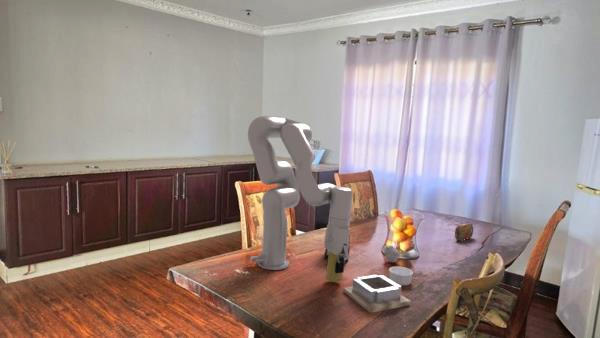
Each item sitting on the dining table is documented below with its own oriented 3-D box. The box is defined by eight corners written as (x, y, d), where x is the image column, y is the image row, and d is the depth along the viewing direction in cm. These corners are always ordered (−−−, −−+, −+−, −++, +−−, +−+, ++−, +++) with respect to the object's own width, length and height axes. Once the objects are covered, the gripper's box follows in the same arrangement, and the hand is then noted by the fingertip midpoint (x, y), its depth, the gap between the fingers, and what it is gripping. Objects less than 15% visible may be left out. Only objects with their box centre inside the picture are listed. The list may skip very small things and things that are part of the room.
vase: (331, 283, 140) (334, 244, 138) (322, 276, 146) (325, 239, 144) (345, 281, 143) (349, 243, 141) (336, 274, 148) (339, 238, 146)
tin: (458, 242, 205) (460, 226, 204) (452, 240, 207) (454, 225, 206) (472, 238, 214) (474, 223, 213) (467, 236, 216) (469, 221, 215)
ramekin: (408, 288, 143) (409, 277, 143) (384, 282, 148) (385, 271, 147) (414, 280, 151) (416, 270, 150) (392, 275, 155) (393, 264, 155)
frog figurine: (386, 258, 174) (388, 242, 173) (401, 262, 170) (403, 246, 169) (380, 261, 170) (381, 245, 169) (395, 265, 165) (396, 250, 164)
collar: (371, 305, 125) (372, 293, 125) (350, 289, 136) (351, 278, 136) (402, 299, 131) (403, 287, 130) (379, 284, 142) (380, 273, 141)
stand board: (370, 312, 123) (370, 308, 123) (343, 291, 137) (343, 287, 137) (409, 305, 130) (410, 300, 130) (380, 285, 144) (380, 281, 144)
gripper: (318, 215, 147) (314, 261, 150) (342, 229, 132) (337, 280, 134) (336, 214, 150) (331, 259, 153) (361, 227, 135) (356, 277, 138)
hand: (334, 268), depth 144 cm, fingers closed on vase, 5 cm apart
